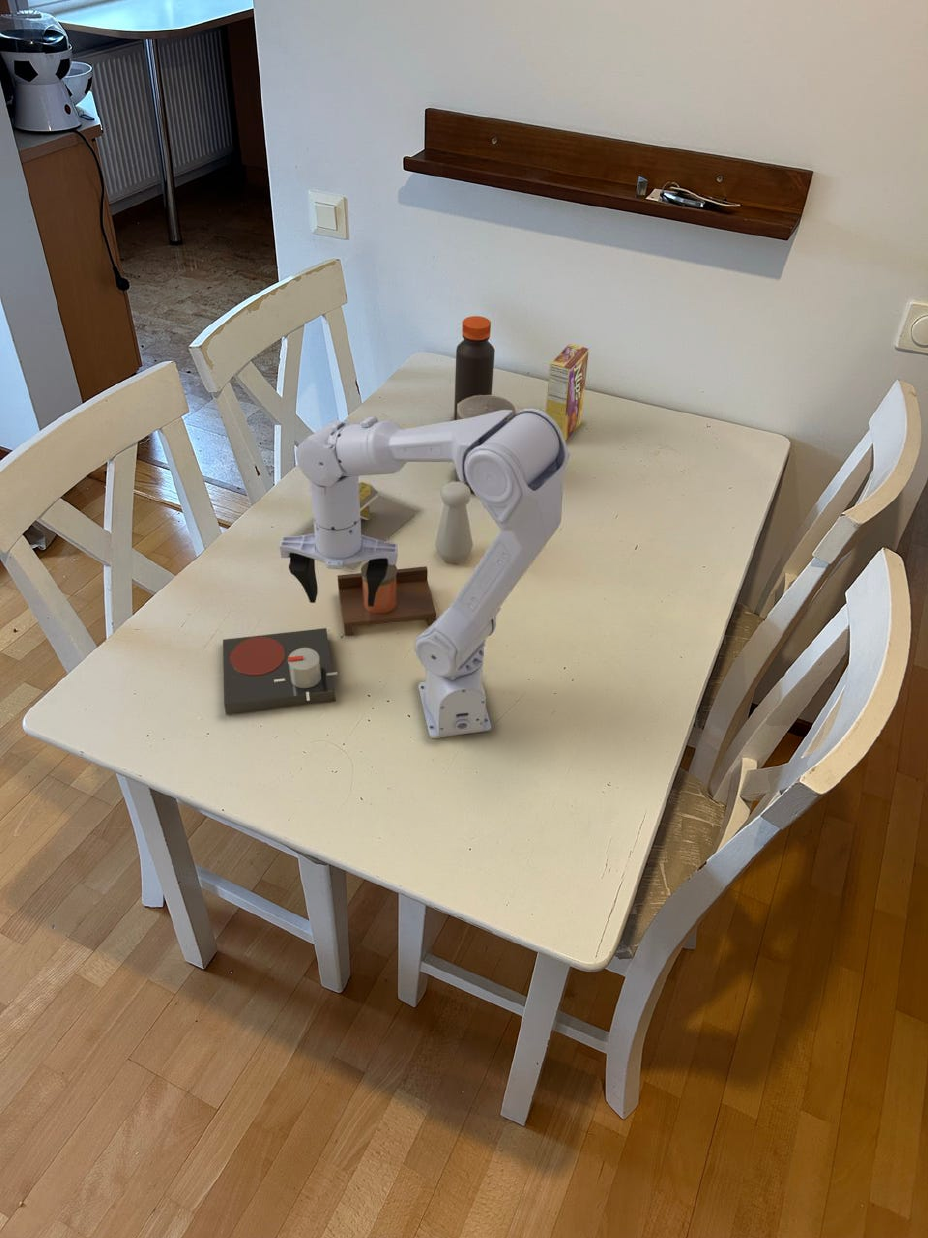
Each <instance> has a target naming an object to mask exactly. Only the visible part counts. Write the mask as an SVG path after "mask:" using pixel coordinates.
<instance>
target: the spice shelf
mask: <svg viewBox="0 0 928 1238" xmlns="http://www.w3.org/2000/svg"><path fill="white" fill-rule="evenodd" d="M428 573H429V572H428V567H427V565H425V566H416V567H406V568H397V605H396V606H395V608H394V609H393V610H391V611H389V612H387V613H373V612H370V611H368V610H367V609H366V608H365V607H364V604H363V589H362V577H361V572H358V573H348V574H338V575H337V576H336V577H337V588H338V601H339V607H340V613H341V618H342V626H343V631H344V636H354V628H360V627H368V626H377V625H378V626H379V625H386V624H395V623H403V622H411V621H422V620H425V621H426V625H427V627H430V626H431V625H432V624H433V623H434V622H435V621H436V620H437V610H436V607H435V602H434V599H433V595H432V591H431V588H430V585H429V581H428V576H429V575H428Z"/></svg>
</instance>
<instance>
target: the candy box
mask: <svg viewBox="0 0 928 1238" xmlns="http://www.w3.org/2000/svg"><path fill="white" fill-rule="evenodd" d="M589 352H590V348H587V347H584V346H581V345H576V344H572V343H568V345H567V346H566V347H565V348H564V349H563V350H562V351H561V352H560V353H559V354H558V355H557V356H556V357H555V358H554V359H553V360H552V361H551V363H550V364H549V373H548V382H547V383H548V385H547V395H546V406H545V413H546V414H548V415H549V416H550V417H551V418H552V419H553V420H554V421H555V422H556V423H557V424H558V426H559V428H560V430H561V432H562V435H563V437H564V440H565V442H566V441H567V440H568V439H569V438H570V437H571V435H572V434H573V433H574V432H575V430H576V429H577V428H578V427H579V426H580V424H581V423H582V414H583V405H584V397H585V388H586V379H587V370H588V360H589Z"/></svg>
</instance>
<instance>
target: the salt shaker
mask: <svg viewBox="0 0 928 1238" xmlns="http://www.w3.org/2000/svg"><path fill="white" fill-rule="evenodd" d="M471 494H472V493H470V489H469V487H468V486H467V485H465V484H464V483H462V482H456V481H450V482H448V483H446V484H444V485H443V486H442V488H441V492H440V497H441V501H442V503H443V508H442V512H441V517H440V521H439V524H438V528H437V533H436V537H435V541H434V547H435V549H436V552H437V553H438V555H439V557H440V558H441V559H442V560H443V562H444V563H445V564H450V565H458V564H462V563H463V562H465V561H467V559H468V558H469V556H470V554H471V552H472V550H473V545H474V543H473V537H472V531H471V526H470V520H469V515H468V510H467V504H469V502H470V501H471Z"/></svg>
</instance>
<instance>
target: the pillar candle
mask: <svg viewBox="0 0 928 1238" xmlns="http://www.w3.org/2000/svg"><path fill="white" fill-rule="evenodd" d="M457 406H458V407H457V420H460V419H466V418H471V417H476V416H480V415H484V414H488V413H492V412H496V411H500V410H512V411H513V412H512V413H511V414H510V415H509V416H508V418H507V419H508V420H511V418H512V417H513V416H514V415H515V414H516V407H515V405H514V404H513V403H512V402H511V401H510V400H508V399H506V398H504V397H501V396H499V395H494V394H492V395H478V396H472V397H469V398H466V399H464V400H462V401H461V402H460V403H458V404H457ZM454 481H455V482H461V481H460V480H459V477H458V475H457V471H456V468H455V467H454ZM464 484H465V485H467V486H468V487H469V489H470V493H471V494H473V495H475V493H474V492H473V490H472V489H471V487H470V485H469V483H468V481H466V482H465V483H464Z"/></svg>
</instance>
